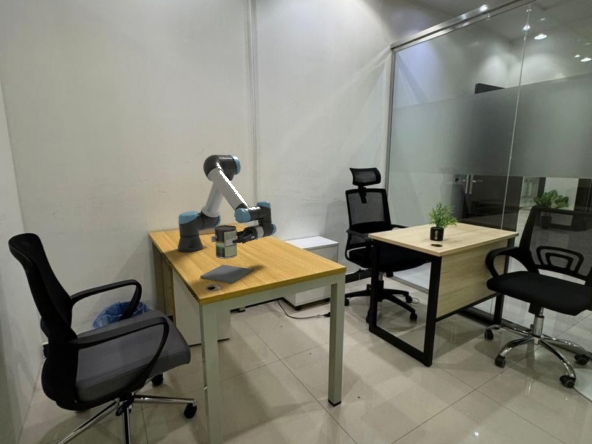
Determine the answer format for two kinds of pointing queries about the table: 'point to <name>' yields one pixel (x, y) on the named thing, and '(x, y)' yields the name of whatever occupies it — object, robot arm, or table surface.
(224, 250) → the coffee can
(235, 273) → the rubber mat
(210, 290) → the table surface
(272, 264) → the table surface
